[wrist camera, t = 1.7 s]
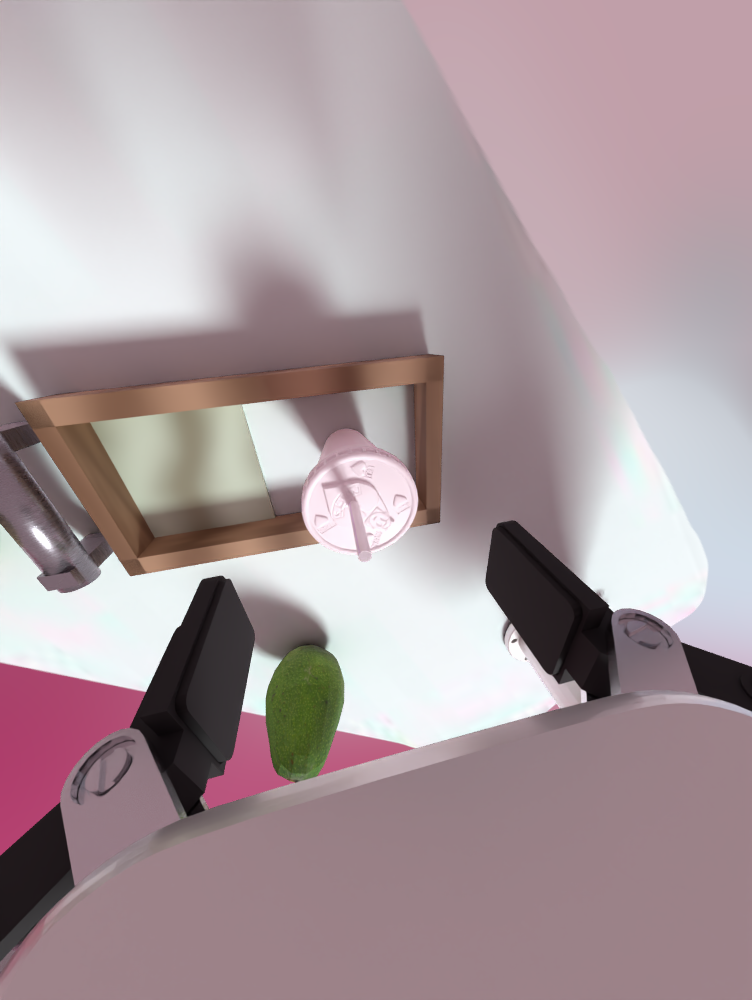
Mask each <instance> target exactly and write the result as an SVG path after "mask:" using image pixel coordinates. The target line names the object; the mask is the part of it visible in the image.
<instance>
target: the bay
mask: <svg viewBox="0 0 752 1000" xmlns="http://www.w3.org/2000/svg"><path fill="white" fill-rule="evenodd" d="M443 374H444V356H442V355H432V354H425V355H416V356H407V357H398V358H388V359H379V360H370V361H361V362H351V363H342V364H333V365H324V366H314V367H305V368H296V369H287V370H277V371H268V372H259V373H250V374H240V375H231V376H222V377H213V378H203V379H194V380H185V381H176V382H166V383H157V384H148V385H139V386H129V387H120V388H111V389H102V390H92V391H83V392H74V393H65V394H56V395H51V396H46V397H41V398H36V399H31V400H26V401H20V402H15V404H16V405H17V407H18V408H19V410H20V411H21V413H22V414H23V416H24V417H25V419H26V420H27V422H28V423H29V425H30V426H31V428H32V429H33V431H34V432H35V434H36V435H37V437H38V438H39V440H40V442H41V443H42V445H43V446H44V448H45V449H46V451H47V452H48V454H49V455H50V457H51V458H52V460H53V461H54V463H55V464H56V466H57V467H58V469H59V470H60V472H61V473H62V475H63V476H64V478H65V479H66V481H67V482H68V484H69V485H70V487H71V488H72V490H73V491H74V493H75V494H76V496H77V497H78V499H79V500H80V502H81V503H82V505H83V506H84V508H85V509H86V511H87V512H88V514H89V515H90V517H91V518H92V520H93V521H94V523H95V524H96V526H97V527H98V529H99V530H100V532H101V533H102V535H103V536H104V538H105V539H106V541H107V542H108V544H109V545H110V547H111V548H112V550H113V551H114V553H115V554H116V556H117V557H118V559H119V560H120V562H121V563H122V565H123V566H124V568H125V569H126V571H127V572H128V574H129V575H130V576H135V575H140V574H146V573H152V572H158V571H163V570H169V569H175V568H181V567H186V566H192V565H198V564H203V563H209V562H215V561H221V560H226V559H232V558H238V557H244V556H249V555H255V554H261V553H267V552H272V551H278V550H284V549H289V548H295V547H301V546H307V545H312V544H318V543H319V542H318V541H317V540H316V539H315V538H314V537H313V536H312V535H311V534H310V532H309V531H308V529H307V527H306V525H305V523H304V520H303V516H302V512H300V513H293V514H287V515H281V516H275V514H274V511H273V507H272V504H271V501H270V497H269V494H268V491H267V487H266V484H265V481H264V477H263V474H262V471H261V467H260V464H259V461H258V457H257V454H256V451H255V447H254V444H253V441H252V437H251V434H250V431H249V428H248V424H247V421H246V418H245V414H244V411H243V408H242V404H249V403H257V402H266V401H274V400H282V399H291V398H299V397H308V396H316V395H324V394H333V393H341V392H350V391H358V390H366V389H375V388H383V387H392V386H400V385H408V384H414V419H415V464H416V488H417V493H418V507H417V512H416V515H415V518H414V520H413V522H412V524H411V525H410V527H416V526H421V525H427V524H433V523H439V522H440V501H441V459H442V417H443ZM410 527H409V528H410Z"/></svg>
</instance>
